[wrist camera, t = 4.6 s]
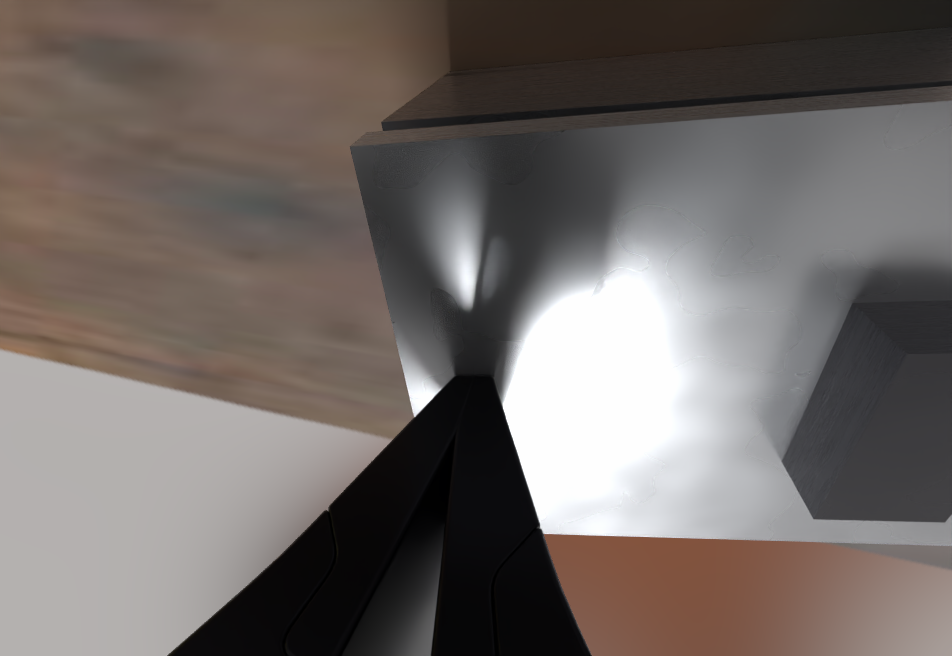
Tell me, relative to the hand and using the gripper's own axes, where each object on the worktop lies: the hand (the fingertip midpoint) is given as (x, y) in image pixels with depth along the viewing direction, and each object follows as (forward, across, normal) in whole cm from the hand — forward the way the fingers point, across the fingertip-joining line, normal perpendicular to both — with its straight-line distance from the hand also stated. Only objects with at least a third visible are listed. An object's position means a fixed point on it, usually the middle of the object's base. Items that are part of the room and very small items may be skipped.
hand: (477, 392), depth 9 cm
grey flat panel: (+1, -5, 0) cm, 5 cm away
